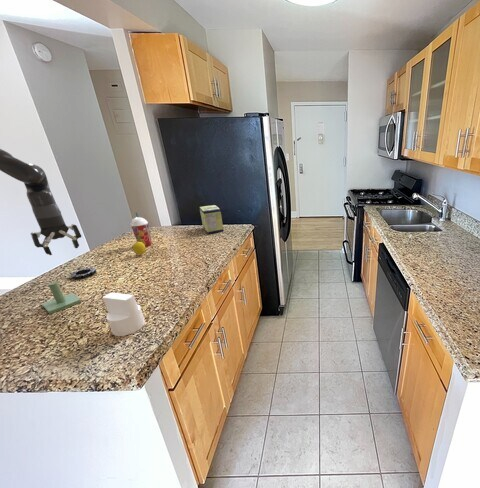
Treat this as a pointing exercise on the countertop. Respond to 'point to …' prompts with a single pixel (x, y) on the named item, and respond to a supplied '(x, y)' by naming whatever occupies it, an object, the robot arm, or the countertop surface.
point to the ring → (76, 275)
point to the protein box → (211, 219)
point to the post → (59, 299)
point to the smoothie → (141, 230)
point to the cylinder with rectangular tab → (123, 314)
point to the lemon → (139, 248)
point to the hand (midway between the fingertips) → (63, 251)
